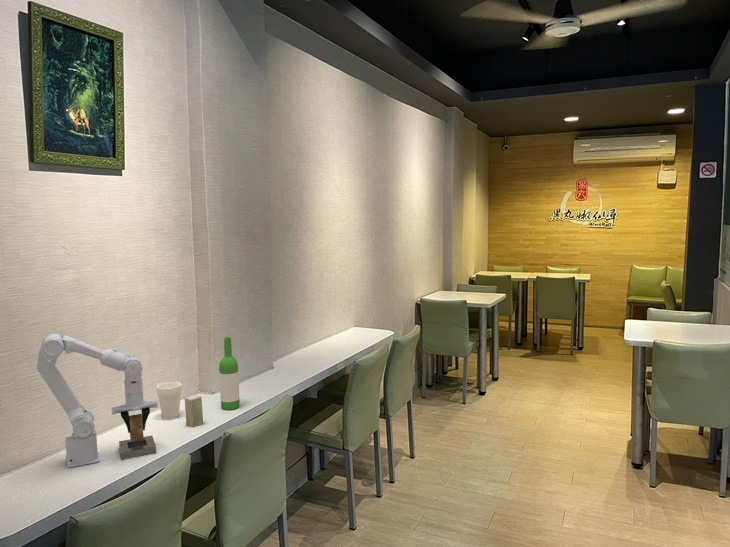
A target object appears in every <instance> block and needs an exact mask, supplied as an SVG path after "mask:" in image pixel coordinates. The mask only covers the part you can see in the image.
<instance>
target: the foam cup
mask: <svg viewBox="0 0 730 547" xmlns="http://www.w3.org/2000/svg"><path fill="white" fill-rule="evenodd" d="M156 394H157V397H158V402H159V406H160V411H161V413H160V414H161V417H162V419H163V420H172V419H173V420H174V419H177V418H179V417H180V407H181V395H182V383H181V382H179V381H169V382H168V381H167V382H163V383H160V384H158V385H157V386H156Z"/></svg>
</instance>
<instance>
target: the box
mask: <svg viewBox="0 0 730 547" xmlns="http://www.w3.org/2000/svg"><path fill="white" fill-rule="evenodd" d="M184 408H185V409H184V410H185V422H186V423H185V424H186V426H188V427H190V428H194V427H198V426H200V425H202V424H204V416H203V414H204V413H203V398H202V396H201V395H197V394H192V395H190V396H187V397H184Z"/></svg>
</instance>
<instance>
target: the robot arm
mask: <svg viewBox="0 0 730 547" xmlns="http://www.w3.org/2000/svg"><path fill="white" fill-rule="evenodd" d="M63 352H64V354H65V355H68V354H71V353H76V354H77V353H78V354H82V355H85V356H86V357H91V358H93V359H97V360H99V362H100V365H102V366H105V367H107V368H110V369H113V370H115V371H118V372H123V373H124V380H123V381H124V382H123V383H124V395H125V396H124V397H125V398H124V400H125V404H122V405H118V406H117V405H116V406H113V407H111V415H112V416H113V415H116V414H120V417H121V418H122V420H123V422H124V423H125V426H126V428H127V433H128V434H130V425H129V416H130V412H133V411H134V412H136V411H141V414H142V420H143V431H146V426H147V425H146V424H147V421H148V418H149V415H150V413H151V409H153V408H154V409H158V408H159V406H158V401H157V400H153V401H152V400H150V401H144V389H143V388H144V385H143V384H144V383H143V377H142V371H143V365H142V362H141V360H140V359H139V358H138V357H136V356H135V355H131V354H129V353H127V354H125V353H122V352H120V351H118V349H117V348H114V347H113V348H106V349H105V350H104V349H101V348H98V347H96V346H93V345H92V344H89V343H86V342H84V341H82V340H79V339H77V338H74V337H71V336H69V335H65V334H64V335H62V334H61V333H58V332H51V333H48V334H47V335H45V337H44V338H43V340H42V342H41V344H40V346H39V350H38V353H37V354H38V356H37V365H36V369H37V372H38V373H39V375H40V376H41V378H42V379H43V381H44V382H45V384H46V385H47V386H48V388H49V390H50V391H51V393H52V394H53V396H54V397H55V399H56V400H57V401H58V403H59V405H60V406H61V407H62V409H63V411H64V412H65V413H66V415H67V417H68V421H69V423H70V424H71V427H72V434H71V435H69V436H67V437H65V453H66V454H65V461H66V467H67V468H69V469H70V468H74V467H79V466H84V465H90V464H95V463H99V462H100V452H99V451H98V440H97V439H98V438H97V437H98V436H97V430H96V429H95V422H94V421H95V416H94V415H93V413H92V412H90V411H88V410H87V409H86V408H85V407H84V406H83V404H81V403H80V401H79V400H78V398H77V397H76V395H75V393H74V392H73V391H72V389H71V388H70V386H69V384H68V383H67V382H66V380H65V379H64V377H63V375H62V374H61V372H60V371H59V369H58V368H57V366H56V363H57V360H58V358H59V357H60V356H61V354H63Z"/></svg>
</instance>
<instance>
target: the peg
mask: <svg viewBox="0 0 730 547" xmlns="http://www.w3.org/2000/svg"><path fill="white" fill-rule="evenodd" d="M129 425H130V433H129V439H131V442H134V441H139V440H144V437H145V436H144V430H143V420H142V413H139V414H131V415H130V414H129Z"/></svg>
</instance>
